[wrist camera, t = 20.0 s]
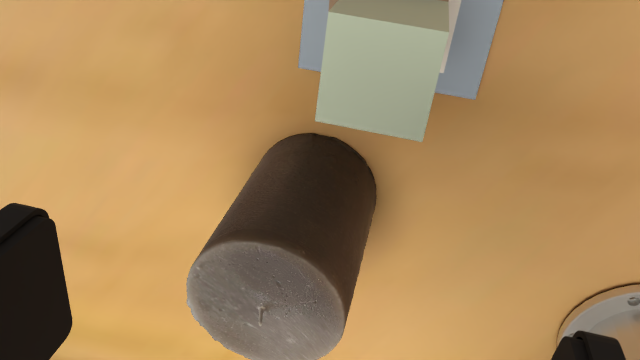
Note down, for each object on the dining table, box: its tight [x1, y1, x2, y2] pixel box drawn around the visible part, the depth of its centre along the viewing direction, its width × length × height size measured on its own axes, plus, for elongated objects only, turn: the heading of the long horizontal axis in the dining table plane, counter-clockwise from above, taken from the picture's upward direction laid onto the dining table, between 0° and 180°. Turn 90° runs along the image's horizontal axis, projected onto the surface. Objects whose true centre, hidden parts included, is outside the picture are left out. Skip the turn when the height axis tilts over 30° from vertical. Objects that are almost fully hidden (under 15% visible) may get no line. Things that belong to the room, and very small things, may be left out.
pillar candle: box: [187, 134, 376, 360], centre depth 36 cm, size 10×10×15 cm
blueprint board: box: [298, 0, 503, 100], centre depth 33 cm, size 12×10×1 cm
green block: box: [315, 0, 449, 142], centre depth 26 cm, size 5×5×6 cm
